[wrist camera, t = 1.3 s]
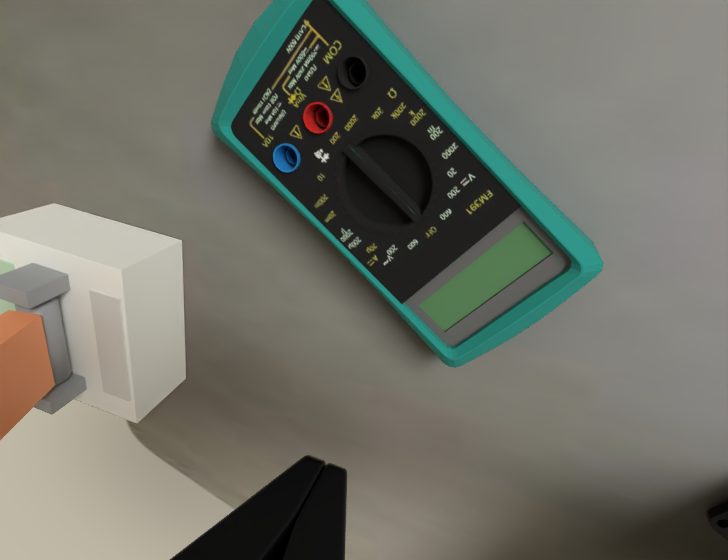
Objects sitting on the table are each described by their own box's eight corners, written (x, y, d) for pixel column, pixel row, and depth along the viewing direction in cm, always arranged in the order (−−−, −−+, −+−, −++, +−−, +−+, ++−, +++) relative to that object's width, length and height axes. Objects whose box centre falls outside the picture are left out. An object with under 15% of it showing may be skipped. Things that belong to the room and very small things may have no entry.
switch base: (181, 240, 22) (81, 289, 17) (186, 378, 26) (106, 451, 21) (54, 203, 24) (-74, 238, 19) (76, 338, 28) (-23, 398, 23)
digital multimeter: (329, -44, 16) (294, -68, 13) (601, 248, 17) (617, 278, 15) (229, 113, 20) (186, 118, 17) (460, 346, 21) (452, 384, 18)
